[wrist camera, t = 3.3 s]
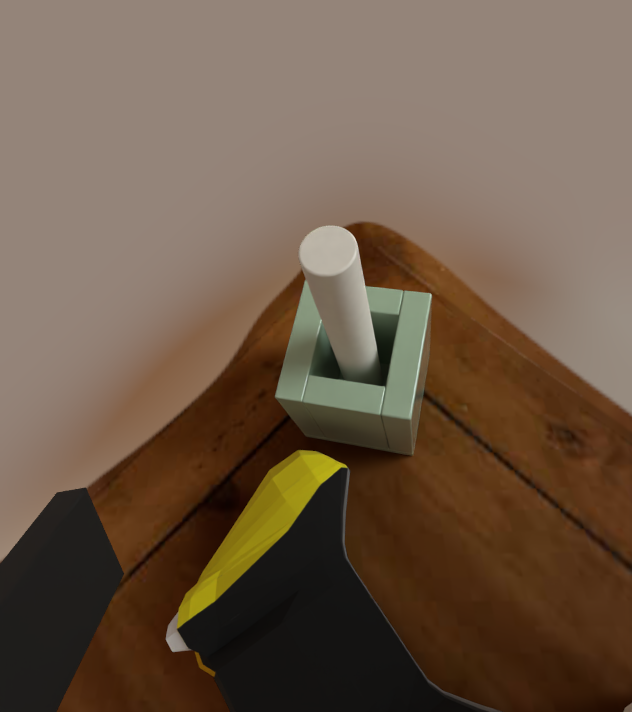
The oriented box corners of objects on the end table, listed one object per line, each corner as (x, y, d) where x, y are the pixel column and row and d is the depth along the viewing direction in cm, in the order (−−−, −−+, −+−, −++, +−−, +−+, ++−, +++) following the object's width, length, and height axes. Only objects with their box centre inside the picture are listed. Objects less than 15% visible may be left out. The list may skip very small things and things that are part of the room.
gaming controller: (334, 450, 27) (170, 571, 27) (315, 420, 22) (112, 568, 22) (552, 753, 21) (347, 923, 20) (593, 805, 16) (324, 1033, 15)
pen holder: (430, 352, 28) (432, 292, 23) (413, 456, 27) (411, 420, 21) (327, 339, 30) (304, 278, 24) (305, 436, 28) (274, 397, 22)
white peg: (387, 377, 28) (362, 226, 16) (381, 410, 27) (350, 278, 15) (353, 372, 28) (305, 221, 17) (346, 405, 28) (291, 272, 16)
